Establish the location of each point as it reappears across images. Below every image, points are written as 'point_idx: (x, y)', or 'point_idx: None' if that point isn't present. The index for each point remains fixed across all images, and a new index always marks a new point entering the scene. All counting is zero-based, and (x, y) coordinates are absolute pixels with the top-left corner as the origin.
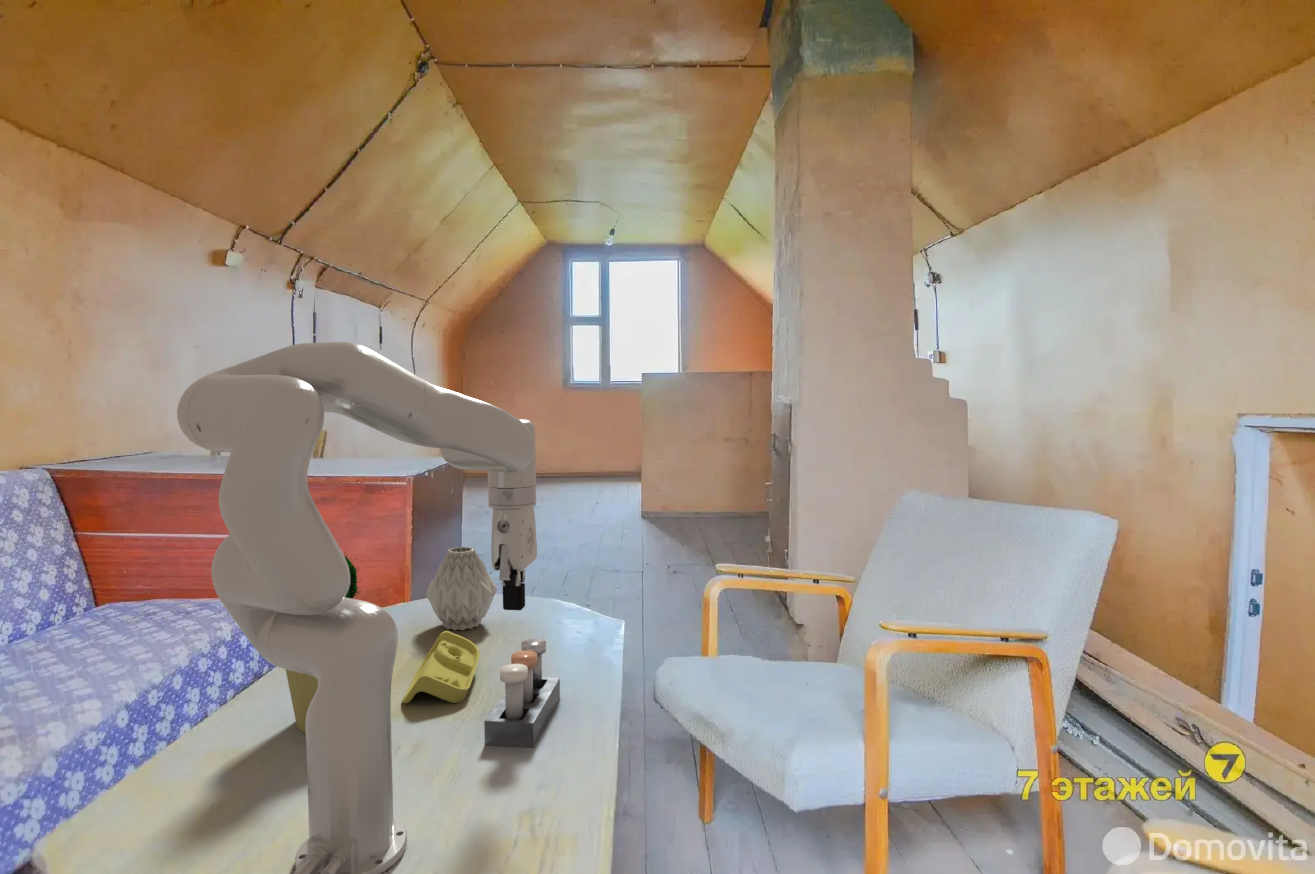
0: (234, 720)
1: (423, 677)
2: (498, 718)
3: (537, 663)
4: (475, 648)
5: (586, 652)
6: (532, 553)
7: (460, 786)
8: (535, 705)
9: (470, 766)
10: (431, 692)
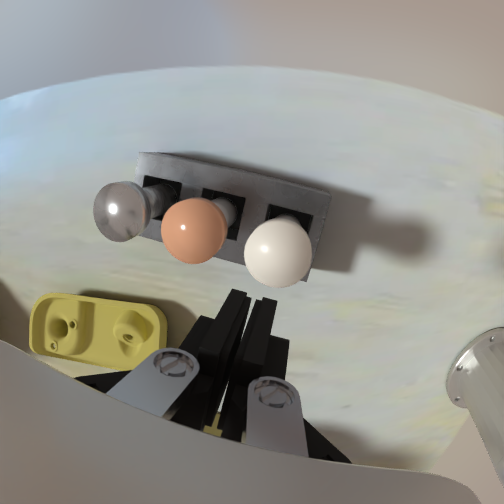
0: None
1: None
2: None
3: (150, 197)
4: (43, 300)
5: (20, 132)
6: (54, 460)
7: (413, 291)
8: (255, 192)
9: (366, 283)
10: None
